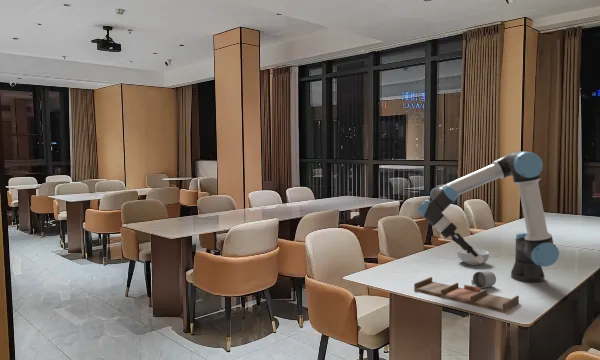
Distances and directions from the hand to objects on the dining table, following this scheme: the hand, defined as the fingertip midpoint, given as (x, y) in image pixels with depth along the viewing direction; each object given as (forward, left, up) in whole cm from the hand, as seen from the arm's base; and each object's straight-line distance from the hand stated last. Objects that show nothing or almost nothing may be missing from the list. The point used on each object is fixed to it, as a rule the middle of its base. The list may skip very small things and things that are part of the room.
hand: (480, 260), depth 209 cm
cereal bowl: (-9, -50, -14) cm, 52 cm away
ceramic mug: (-2, -5, -14) cm, 15 cm away
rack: (+9, +12, -14) cm, 21 cm away
